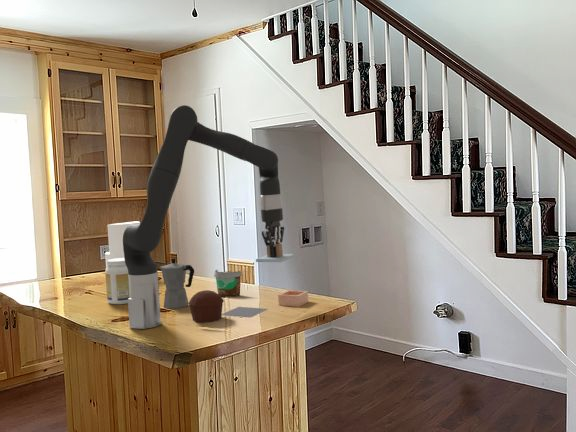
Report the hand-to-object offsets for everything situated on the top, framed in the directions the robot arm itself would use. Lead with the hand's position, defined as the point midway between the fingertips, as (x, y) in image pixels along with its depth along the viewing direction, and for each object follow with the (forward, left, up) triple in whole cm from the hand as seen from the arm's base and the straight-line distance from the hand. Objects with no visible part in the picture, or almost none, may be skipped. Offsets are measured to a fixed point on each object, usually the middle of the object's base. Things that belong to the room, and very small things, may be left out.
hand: (275, 256), depth 194 cm
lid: (0, 0, -1) cm, 1 cm away
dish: (+5, -4, -18) cm, 19 cm away
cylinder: (+34, +102, -19) cm, 109 cm away
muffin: (-23, +14, -19) cm, 33 cm away
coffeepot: (-7, +38, -19) cm, 43 cm away
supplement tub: (-6, +66, -19) cm, 69 cm away
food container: (+13, +30, -19) cm, 38 cm away
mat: (-11, +7, -18) cm, 23 cm away
